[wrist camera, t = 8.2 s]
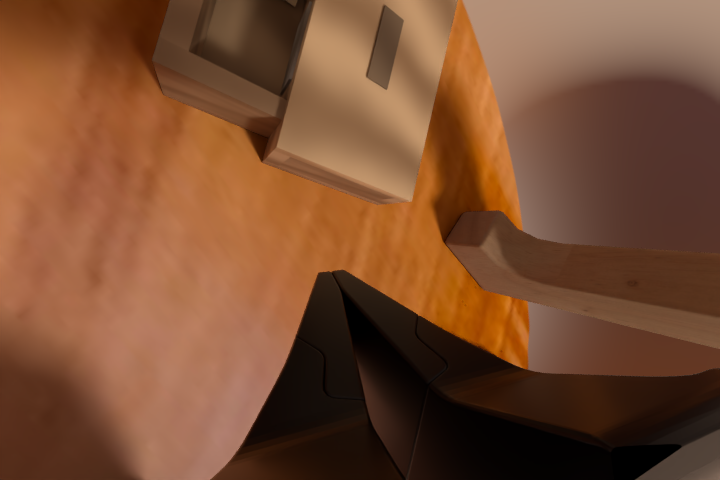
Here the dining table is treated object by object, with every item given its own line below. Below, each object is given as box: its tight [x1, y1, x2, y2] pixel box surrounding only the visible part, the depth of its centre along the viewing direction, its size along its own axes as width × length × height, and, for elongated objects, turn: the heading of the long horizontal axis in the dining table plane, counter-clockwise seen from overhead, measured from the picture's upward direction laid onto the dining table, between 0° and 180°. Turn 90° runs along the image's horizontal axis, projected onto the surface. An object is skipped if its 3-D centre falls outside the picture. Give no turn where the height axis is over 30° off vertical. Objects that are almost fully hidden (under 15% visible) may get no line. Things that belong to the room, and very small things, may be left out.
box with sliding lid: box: [152, 0, 458, 205], centre depth 19 cm, size 20×16×5 cm
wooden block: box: [445, 211, 720, 349], centre depth 23 cm, size 9×4×18 cm, turn 48°
